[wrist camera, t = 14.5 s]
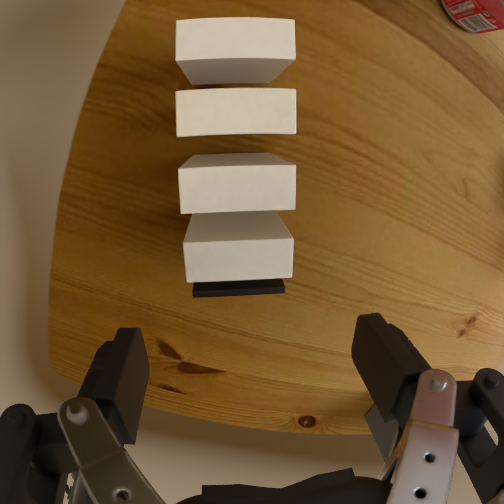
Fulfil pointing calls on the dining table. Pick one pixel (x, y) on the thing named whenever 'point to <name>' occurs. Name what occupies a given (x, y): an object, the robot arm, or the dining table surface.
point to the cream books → (235, 123)
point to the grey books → (381, 430)
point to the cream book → (237, 247)
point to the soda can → (476, 14)
